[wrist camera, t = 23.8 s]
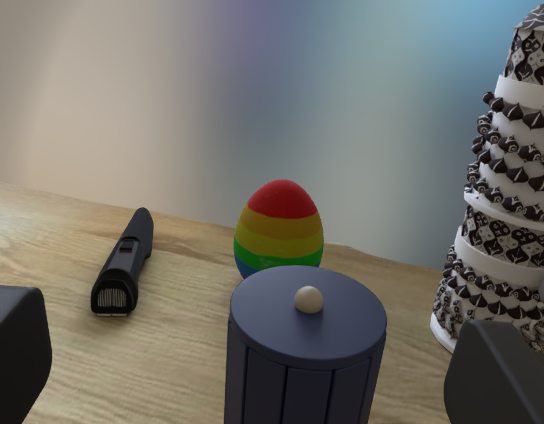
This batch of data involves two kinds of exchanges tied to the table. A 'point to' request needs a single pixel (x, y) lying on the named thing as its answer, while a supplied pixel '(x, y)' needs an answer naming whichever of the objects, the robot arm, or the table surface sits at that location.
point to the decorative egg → (278, 230)
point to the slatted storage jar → (302, 348)
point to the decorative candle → (503, 205)
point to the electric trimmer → (124, 268)
